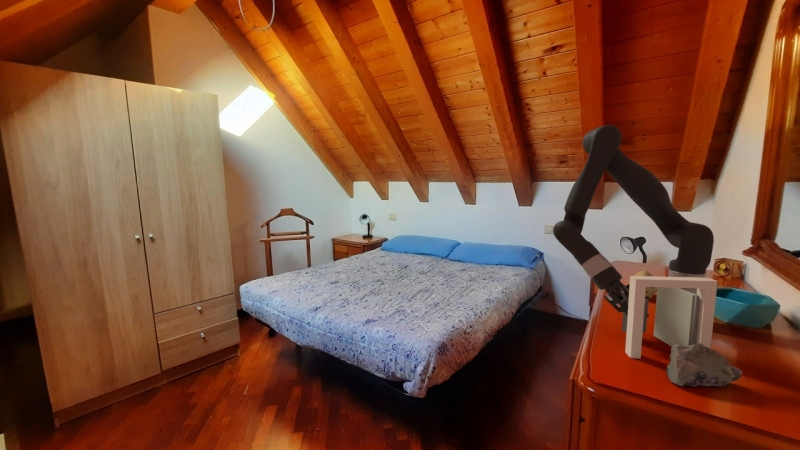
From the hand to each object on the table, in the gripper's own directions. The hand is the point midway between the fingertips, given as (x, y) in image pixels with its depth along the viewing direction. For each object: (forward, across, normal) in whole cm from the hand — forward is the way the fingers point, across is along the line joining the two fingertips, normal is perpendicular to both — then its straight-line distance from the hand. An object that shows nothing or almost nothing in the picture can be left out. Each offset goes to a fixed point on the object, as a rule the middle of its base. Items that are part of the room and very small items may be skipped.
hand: (642, 319), depth 97 cm
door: (+10, +4, -1) cm, 10 cm away
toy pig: (-5, +43, +15) cm, 46 cm away
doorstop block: (+2, 0, +4) cm, 5 cm away
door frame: (+10, -5, 0) cm, 11 cm away
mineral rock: (+17, -12, -7) cm, 22 cm away
